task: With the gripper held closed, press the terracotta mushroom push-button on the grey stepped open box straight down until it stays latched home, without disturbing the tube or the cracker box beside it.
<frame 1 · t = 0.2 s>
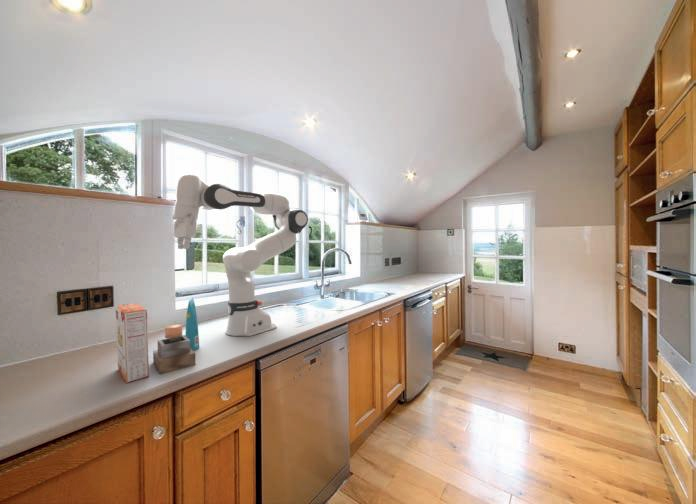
hand: (183, 248, 111), 39 cm above the countertop, tool pointing down, fingers open, 8 cm apart
grey stepped open box: (174, 363, 93), on the countertop
tube: (191, 349, 107), on the countertop
cracker box: (132, 374, 86), on the countertop
push button: (173, 334, 93), point 10 cm above the countertop, slide at 0.0 cm
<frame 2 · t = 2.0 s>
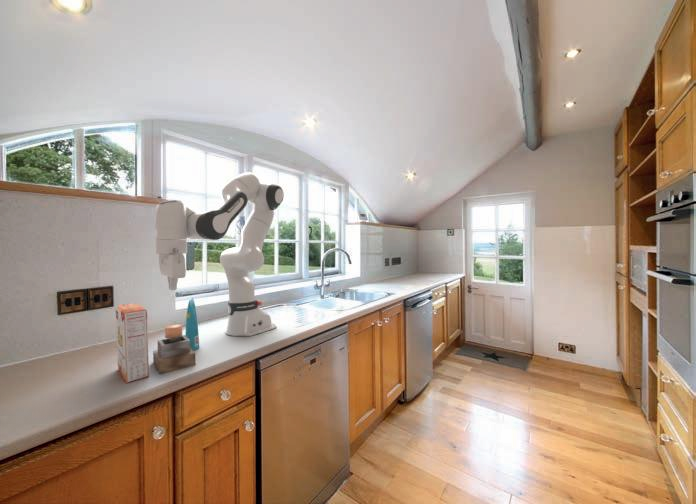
hand: (172, 289, 93), 25 cm above the countertop, tool pointing down, fingers closed
nothing on the countertop moved.
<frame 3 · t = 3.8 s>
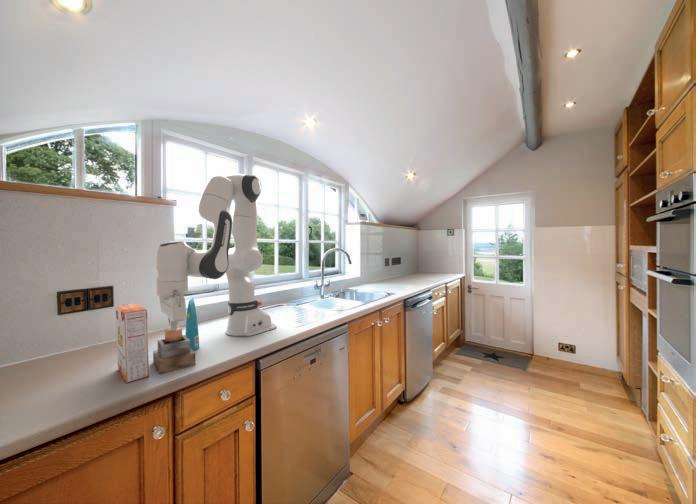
hand: (173, 329, 93), 12 cm above the countertop, tool pointing down, fingers closed, pressing on push button
push button: (173, 337, 93), point 9 cm above the countertop, slide at 1.0 cm, touching gripper
everything else where it was.
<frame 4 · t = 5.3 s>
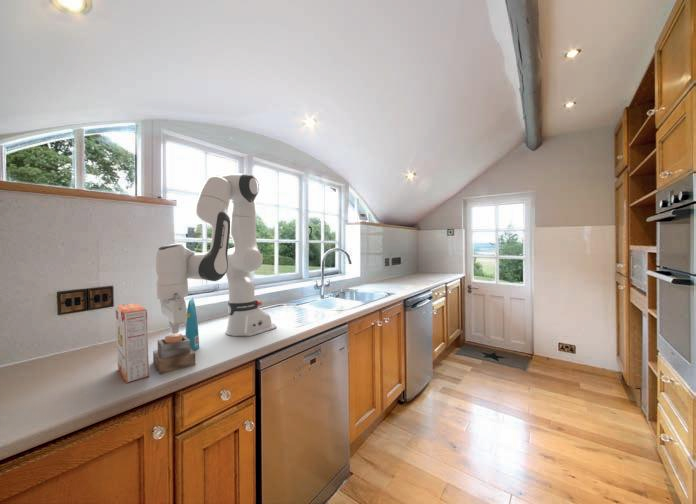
hand: (174, 332, 93), 10 cm above the countertop, tool pointing down, fingers closed
push button: (173, 343, 93), point 7 cm above the countertop, slide at 3.1 cm
everything else where it was.
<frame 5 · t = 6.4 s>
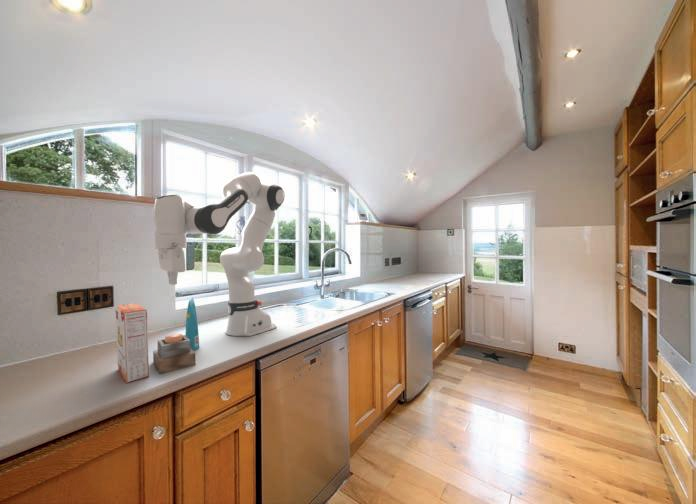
hand: (172, 284, 93), 27 cm above the countertop, tool pointing down, fingers closed
nothing on the countertop moved.
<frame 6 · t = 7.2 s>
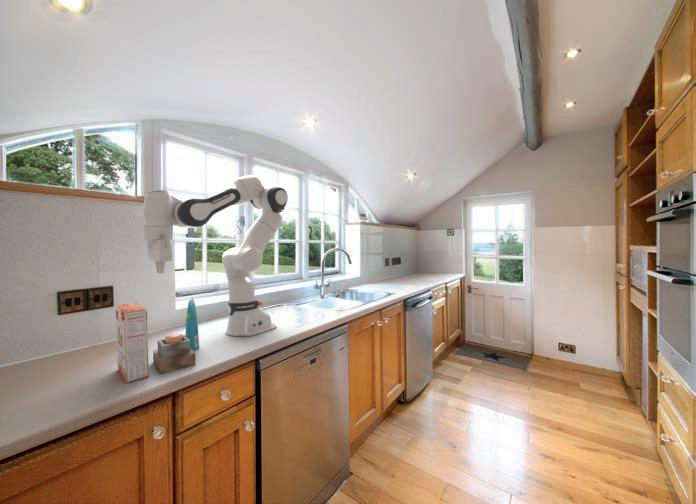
hand: (160, 273, 101), 30 cm above the countertop, tool pointing down, fingers closed
nothing on the countertop moved.
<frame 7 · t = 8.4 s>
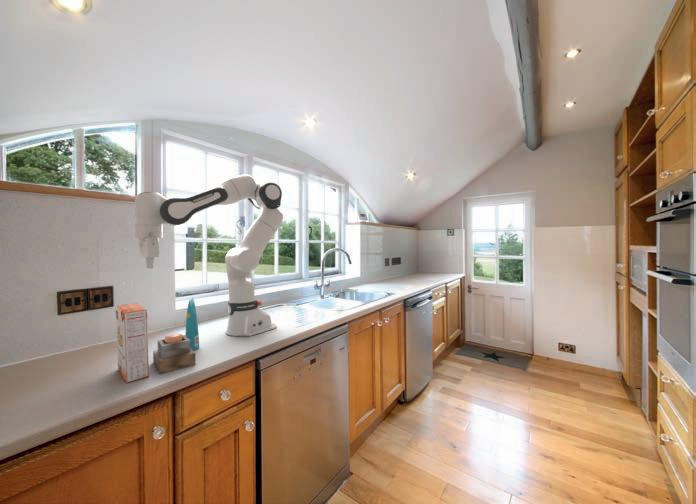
hand: (149, 268, 109), 31 cm above the countertop, tool pointing down, fingers closed
nothing on the countertop moved.
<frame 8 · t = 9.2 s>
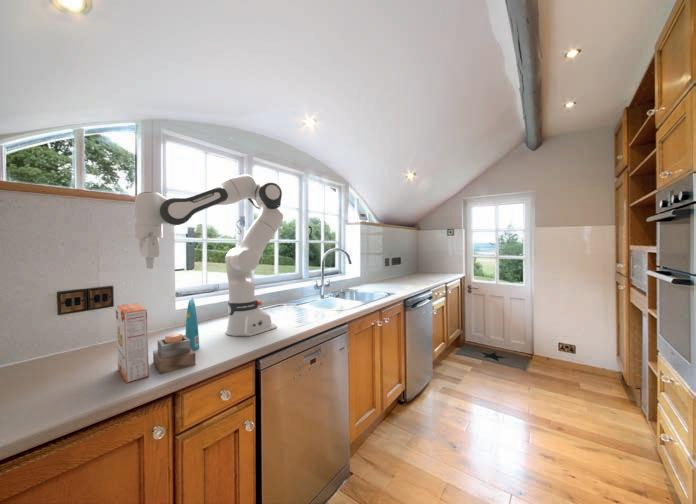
hand: (149, 268, 109), 31 cm above the countertop, tool pointing down, fingers closed
nothing on the countertop moved.
at the end: push button slide at 3.1 cm; cracker box moved 0.2 cm from its start; tube moved 0.2 cm from its start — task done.
